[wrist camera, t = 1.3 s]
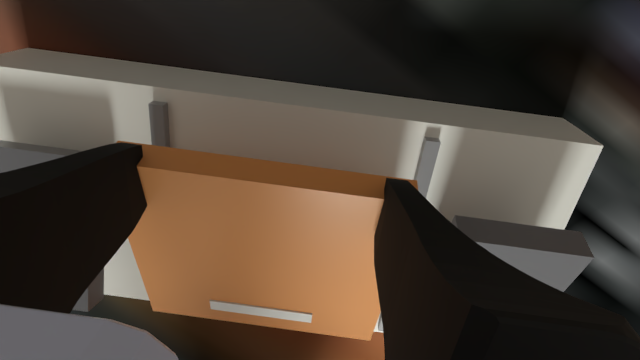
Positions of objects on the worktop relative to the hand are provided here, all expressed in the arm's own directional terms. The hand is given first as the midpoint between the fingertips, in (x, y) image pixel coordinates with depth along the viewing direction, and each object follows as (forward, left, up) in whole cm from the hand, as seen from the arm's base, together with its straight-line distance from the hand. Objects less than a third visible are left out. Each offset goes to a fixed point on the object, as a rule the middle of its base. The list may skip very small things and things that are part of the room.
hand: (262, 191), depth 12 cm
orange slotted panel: (-3, 0, -1) cm, 3 cm away
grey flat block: (-3, -8, -1) cm, 9 cm away
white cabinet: (-3, 0, -6) cm, 7 cm away
